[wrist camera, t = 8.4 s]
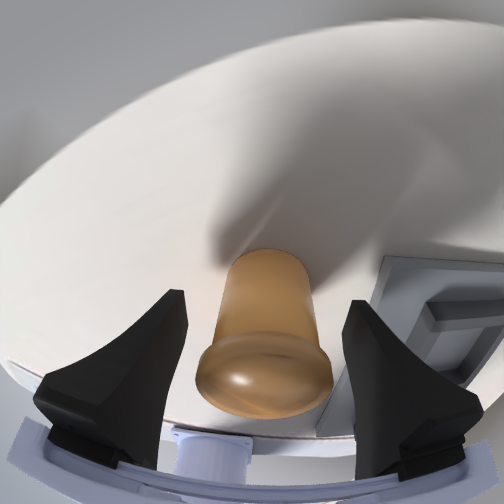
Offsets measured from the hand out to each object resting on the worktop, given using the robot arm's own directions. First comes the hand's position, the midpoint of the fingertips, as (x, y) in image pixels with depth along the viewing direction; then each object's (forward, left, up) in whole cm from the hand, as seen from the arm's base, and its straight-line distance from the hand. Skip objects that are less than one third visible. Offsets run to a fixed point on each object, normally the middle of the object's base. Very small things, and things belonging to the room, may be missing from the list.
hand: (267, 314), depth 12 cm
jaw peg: (0, 0, -2) cm, 2 cm away
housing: (-7, -12, -2) cm, 14 cm away
